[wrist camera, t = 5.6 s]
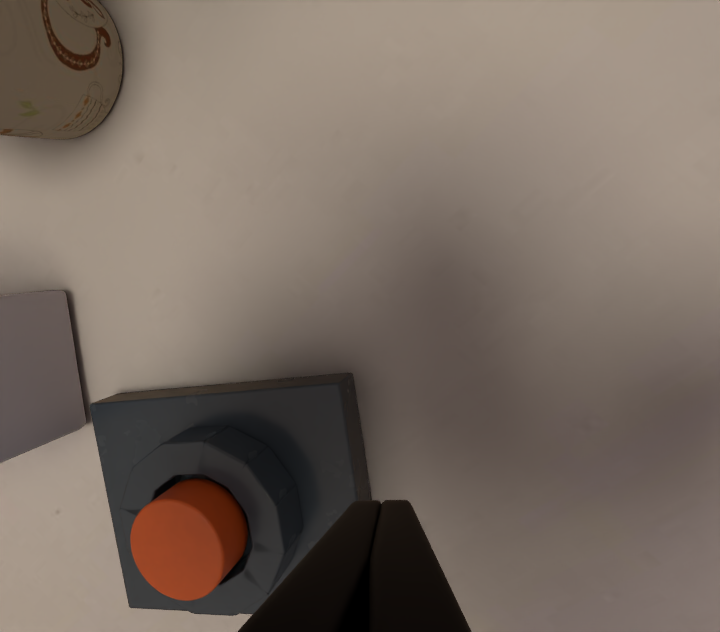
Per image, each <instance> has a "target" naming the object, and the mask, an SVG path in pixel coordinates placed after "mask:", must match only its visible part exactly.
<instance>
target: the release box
mask: <svg viewBox="0 0 720 632" xmlns="http://www.w3.org/2000/svg"><path fill="white" fill-rule="evenodd" d="M90 410H91V416H92V421H93V426H94V431H95V436H96V441H97V446H98V451H99V456H100V461H101V466H102V471H103V476H104V481H105V486H106V491H107V497H108V502H109V507H110V512H111V517H112V522H113V527H114V532H115V537H116V542H117V547H118V552H119V557H120V562H121V567H122V573H123V578H124V583H125V588H126V593H127V598H128V603H129V607H130V608H143V609H163V610H182V611H189V612H191V613H194V614H211V615H230V616H233V615H237V614H239V613H241V614H254V613H255V612H256V611H257V609H258V608H259V607H260V606H261V605H262V604H263V603H264V602H265V600H266V599H267V598H268V597H269V596H270V595H271V594H272V593H273V591H274V590H275V589H276V588H277V587H278V586H279V585H280V584H281V582H282V581H283V580H284V579H285V578H286V577H287V576H288V575H289V574H290V572H291V571H292V570H293V569H294V568H295V567H296V566H297V565H298V563H299V562H300V561H301V560H302V559H303V558H304V557H305V556H306V554H307V553H308V552H309V551H310V550H311V549H312V548H313V547H314V545H315V544H316V543H317V542H318V541H319V540H320V539H321V538H322V537H323V535H324V534H325V533H326V532H327V531H328V530H329V529H330V528H331V526H332V525H333V524H334V523H335V522H336V521H337V520H338V519H339V517H340V516H341V515H342V514H343V513H344V512H345V511H346V510H347V508H348V507H349V506H350V505H351V504H352V503H353V502H355V501H363V500H372V499H371V492H370V486H369V479H368V472H367V466H366V459H365V453H364V446H363V439H362V433H361V426H360V420H359V413H358V406H357V400H356V393H355V386H354V380H353V374H352V373H340V374H329V375H318V376H307V377H296V378H285V379H274V380H263V381H252V382H241V383H230V384H218V385H207V386H196V387H185V388H174V389H163V390H152V391H141V392H130V393H119V394H115V395H113V396H110V397H107V398H105V399H102V400H99V401H97V402H94V403H91V404H90ZM193 478H198V479H206V480H209V481H212V482H214V483H217V484H219V485H220V486H222V487H223V488H225V489H226V490H227V491H228V492H229V493H230V494H231V495H232V496H233V497H234V498H235V499H236V501H237V502H238V504H239V505H240V507H241V509H242V511H243V513H244V516H245V518H246V522H247V528H248V539H247V545H246V548H245V551H244V553H243V555H242V557H241V558H240V560H239V561H238V562H237V563H236V565H235V566H234V567H233V568H232V569H231V570H230V572H229V573H228V574H227V575H226V576H225V577H224V579H223V580H222V581H221V582H220V583H219V584H218V585H217V587H216V588H215V589H214V590H213V591H212V592H211V593H209V594H208V595H206V596H204V597H202V598H199V599H196V600H191V601H183V600H177V599H173V598H170V597H168V596H166V595H164V594H162V593H160V592H159V591H157V590H156V589H155V588H154V587H152V586H151V585H150V584H149V583H148V582H147V581H146V579H145V578H144V577H143V576H142V574H141V573H140V571H139V569H138V567H137V565H136V563H135V561H134V558H133V555H132V551H131V543H130V536H131V529H132V525H133V523H134V520H135V518H136V516H137V515H138V513H139V512H140V511H141V509H142V508H144V507H145V506H146V505H147V504H149V503H150V502H151V501H153V500H154V499H156V498H157V497H158V496H160V495H161V494H163V493H164V492H165V491H167V490H168V489H170V488H171V487H172V486H174V485H175V484H177V483H178V482H181V481H183V480H187V479H193Z"/></svg>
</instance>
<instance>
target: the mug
mask: <svg viewBox="0 0 720 632" xmlns="http://www.w3.org/2000/svg"><path fill="white" fill-rule="evenodd" d="M121 77H122V50H121V44H120V40H119V36H118V33H117V30H116V28H115V25H114V23H113V21H112V19H111V18H110V16H109V14H108V13H107V11H106V10H105V8H104V7H103V6H102V5H101V4H100V3H99V2H98V1H97V0H0V135H7V136H19V137H32V138H44V139H71V138H75V137H79V136H81V135H84V134H86V133H87V132H89V131H91V130H92V129H94V128H95V127H96V126H97V125H98V124H99V123H100V122H101V121H102V120H103V119H104V118H105V117H106V115H107V114H108V112H109V111H110V109H111V107H112V106H113V104H114V102H115V99H116V97H117V94H118V91H119V87H120V83H121Z"/></svg>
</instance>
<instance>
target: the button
mask: <svg viewBox="0 0 720 632" xmlns="http://www.w3.org/2000/svg"><path fill="white" fill-rule="evenodd" d="M247 539H248V528H247V522H246V518H245V516H244V513H243V511H242V509H241V507H240V505H239V504H238V502H237V501H236V499H235V498H234V497H233V496H232V495H231V494H230V493H229V492H228V491H227V490H226V489H225V488H223V487H222V486H220V485H219V484H217V483H214V482H212V481H209V480H206V479H198V478H193V479H187V480H183V481H181V482H178V483H177V484H175V485H174V486H172V487H171V488H170V489H168V490H167V491H165V492H164V493H163V494H161V495H160V496H158V497H157V498H156V499H154V500H153V501H151V502H150V503H149V504H147V505H146V506H145V507H144V508H142V509H141V511H140V512H139V513H138V515H137V516H136V518H135V520H134V523H133V525H132V529H131V536H130V543H131V551H132V555H133V558H134V561H135V563H136V565H137V567H138V569H139V571H140V573H141V574H142V576H143V577H144V578H145V579H146V581H147V582H148V583H149V584H150V585H151V586H152V587H154V588H155V589H156V590H157V591H159V592H160V593H162V594H164V595H166V596H168V597H170V598H173V599H177V600H183V601H191V600H196V599H199V598H202V597H204V596H206V595H208V594H209V593H211V592H212V591H213V590H214V589H215V588H216V587H217V585H218V584H219V583H220V582H221V581H222V580H223V579H224V577H225V576H226V575H227V574H228V573H229V572H230V570H231V569H232V568H233V567H234V566H235V565H236V563H237V562H238V561H239V560H240V558H241V557H242V555H243V553H244V551H245V548H246V545H247Z"/></svg>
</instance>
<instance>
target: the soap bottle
mask: <svg viewBox="0 0 720 632" xmlns="http://www.w3.org/2000/svg"><path fill="white" fill-rule="evenodd" d="M85 424H86V417H85V411H84V405H83V398H82V392H81V386H80V379H79V373H78V367H77V360H76V354H75V348H74V341H73V335H72V329H71V322H70V316H69V310H68V303H67V297H66V293H65V292H63V291H61V290H50V291H40V292H29V293H19V294H9V295H0V463H2V462H4V461H6V460H9V459H11V458H13V457H16V456H18V455H20V454H23V453H25V452H27V451H30V450H32V449H34V448H37V447H39V446H41V445H44V444H46V443H48V442H51V441H53V440H55V439H58V438H60V437H62V436H65V435H67V434H70V433H72V432H74V431H77V430H79V429H80V428H82V427H83V426H84V425H85Z"/></svg>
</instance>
